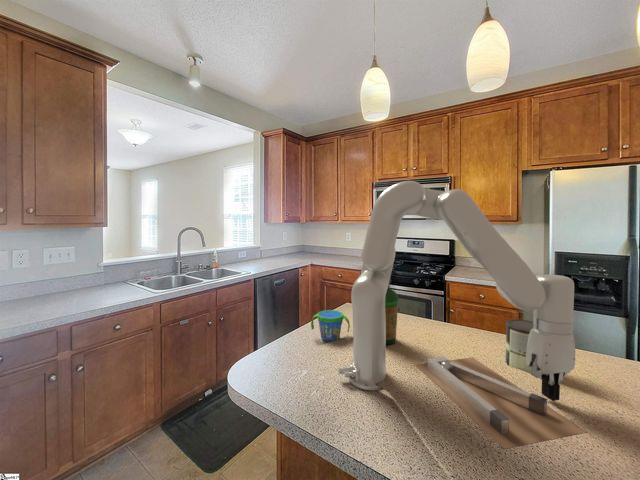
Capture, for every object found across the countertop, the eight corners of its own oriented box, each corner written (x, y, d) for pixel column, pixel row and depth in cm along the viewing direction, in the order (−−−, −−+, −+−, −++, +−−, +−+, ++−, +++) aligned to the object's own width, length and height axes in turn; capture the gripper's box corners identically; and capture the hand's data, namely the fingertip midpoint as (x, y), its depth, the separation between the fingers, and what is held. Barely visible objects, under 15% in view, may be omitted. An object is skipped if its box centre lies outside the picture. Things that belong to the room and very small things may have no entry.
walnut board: (503, 456, 56) (504, 448, 56) (414, 369, 90) (414, 364, 89) (587, 438, 60) (587, 432, 60) (472, 361, 94) (472, 357, 94)
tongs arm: (439, 372, 84) (439, 362, 84) (446, 368, 86) (446, 358, 86) (541, 419, 64) (541, 405, 64) (546, 412, 66) (547, 399, 66)
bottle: (400, 351, 102) (400, 275, 100) (370, 349, 103) (369, 274, 102) (396, 339, 112) (396, 269, 110) (369, 338, 114) (369, 269, 112)
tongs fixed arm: (427, 368, 87) (427, 358, 87) (444, 366, 88) (444, 356, 88) (500, 434, 60) (501, 420, 60) (524, 429, 61) (524, 415, 61)
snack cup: (352, 335, 117) (351, 311, 116) (346, 346, 107) (346, 320, 106) (316, 331, 122) (316, 308, 121) (307, 341, 112) (307, 316, 111)
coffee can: (497, 360, 94) (498, 319, 93) (527, 359, 95) (529, 318, 94) (520, 377, 84) (522, 331, 83) (554, 376, 84) (555, 330, 83)
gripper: (561, 317, 74) (559, 384, 75) (513, 323, 71) (511, 392, 73) (594, 328, 67) (591, 402, 68) (541, 334, 64) (539, 411, 65)
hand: (550, 397), depth 70 cm, fingers closed
